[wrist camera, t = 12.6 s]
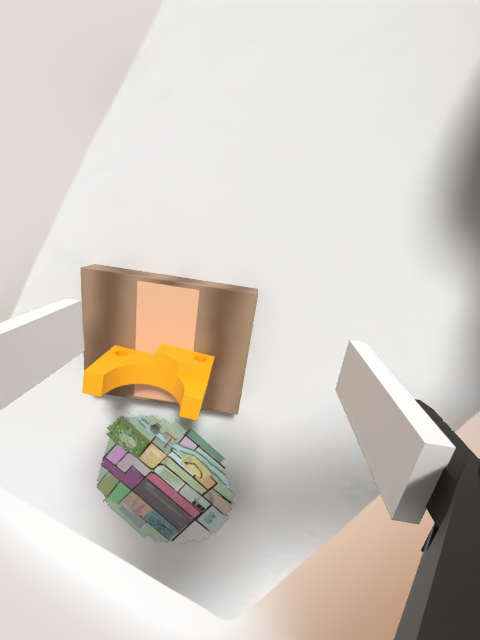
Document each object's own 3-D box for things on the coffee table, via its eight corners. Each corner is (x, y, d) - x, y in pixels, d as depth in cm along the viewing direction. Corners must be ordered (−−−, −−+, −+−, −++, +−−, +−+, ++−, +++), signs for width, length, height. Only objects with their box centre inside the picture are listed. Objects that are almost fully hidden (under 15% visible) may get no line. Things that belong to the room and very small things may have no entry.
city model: (110, 376, 42) (81, 399, 36) (260, 433, 40) (254, 466, 34) (90, 493, 50) (64, 526, 44) (213, 544, 48) (203, 586, 43)
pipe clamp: (214, 356, 34) (206, 385, 28) (207, 387, 35) (197, 420, 29) (116, 331, 33) (85, 355, 27) (112, 363, 35) (82, 392, 29)
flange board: (257, 288, 34) (257, 294, 31) (238, 400, 39) (237, 415, 36) (95, 264, 34) (79, 267, 31) (97, 379, 39) (84, 391, 36)
